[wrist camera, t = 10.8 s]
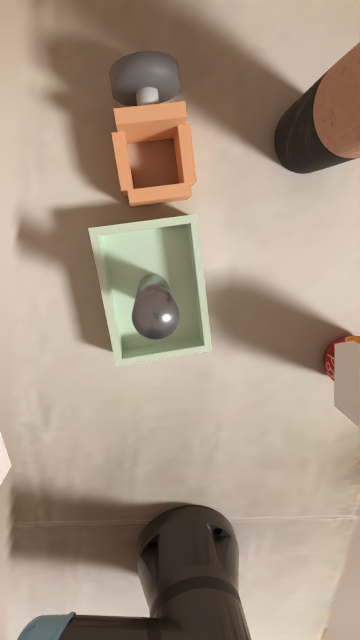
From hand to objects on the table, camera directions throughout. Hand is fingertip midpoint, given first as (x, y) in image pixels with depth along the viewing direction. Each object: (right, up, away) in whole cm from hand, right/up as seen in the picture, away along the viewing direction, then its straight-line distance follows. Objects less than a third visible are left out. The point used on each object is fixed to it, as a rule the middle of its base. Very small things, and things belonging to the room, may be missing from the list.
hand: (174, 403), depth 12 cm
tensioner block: (-3, +21, +21) cm, 30 cm away
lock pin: (-3, +7, +24) cm, 25 cm away
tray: (-3, +7, +25) cm, 26 cm away
